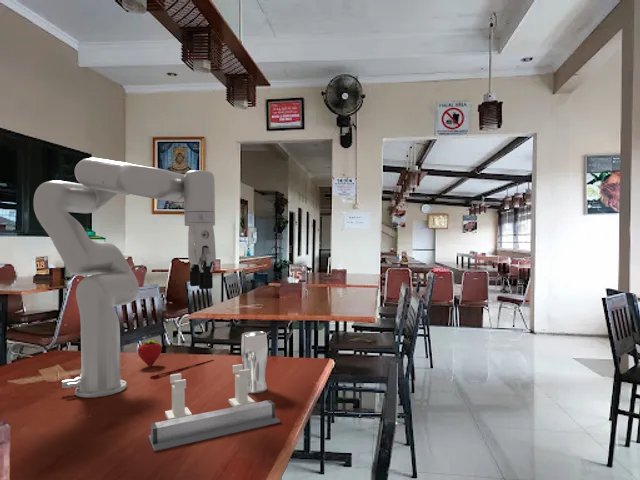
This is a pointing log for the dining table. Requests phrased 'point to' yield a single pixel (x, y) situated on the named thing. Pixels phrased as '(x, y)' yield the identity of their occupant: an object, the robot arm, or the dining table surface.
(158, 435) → the steel rail
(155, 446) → the mat
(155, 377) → the chopstick
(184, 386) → the standard left
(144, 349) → the strawberry
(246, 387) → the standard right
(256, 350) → the silver metal cup
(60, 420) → the dining table surface
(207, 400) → the dining table surface
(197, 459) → the dining table surface
